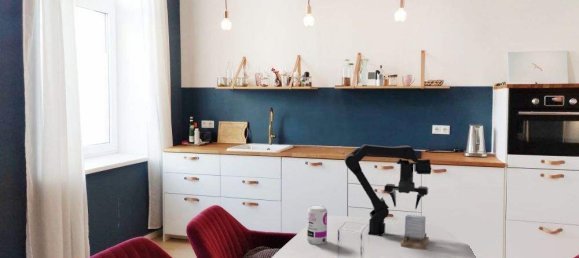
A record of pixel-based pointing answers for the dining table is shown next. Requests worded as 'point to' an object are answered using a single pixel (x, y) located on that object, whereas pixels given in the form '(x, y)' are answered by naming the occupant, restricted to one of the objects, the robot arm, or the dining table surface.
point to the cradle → (415, 242)
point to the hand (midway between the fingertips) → (405, 208)
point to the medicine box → (415, 226)
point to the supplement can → (317, 225)
